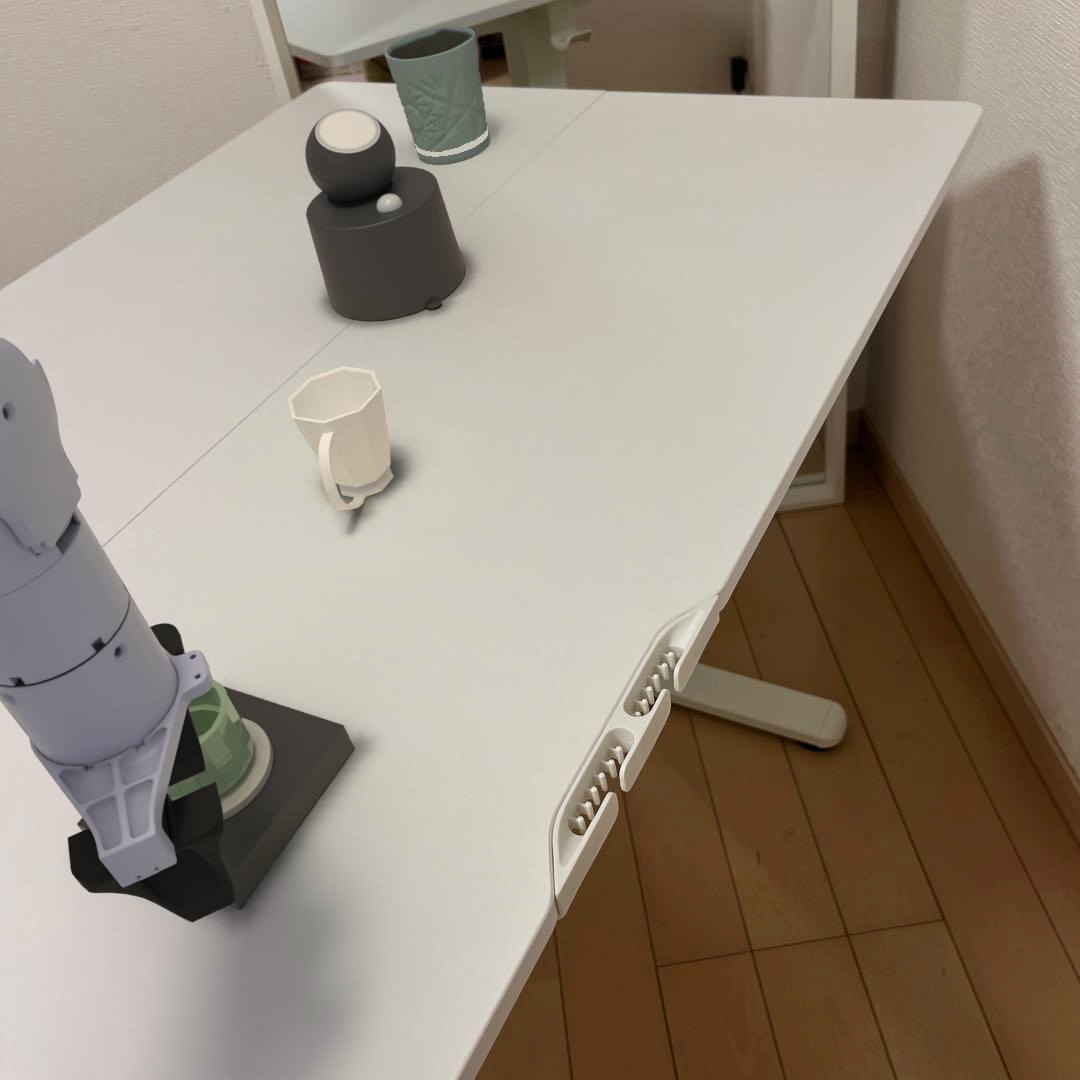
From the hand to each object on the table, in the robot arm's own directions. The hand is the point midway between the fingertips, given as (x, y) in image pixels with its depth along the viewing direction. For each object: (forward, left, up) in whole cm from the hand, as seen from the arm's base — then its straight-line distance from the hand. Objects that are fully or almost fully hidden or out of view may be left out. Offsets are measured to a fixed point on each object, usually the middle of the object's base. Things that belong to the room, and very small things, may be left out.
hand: (197, 836), depth 49 cm
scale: (+5, +10, -10) cm, 15 cm away
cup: (+29, +22, -11) cm, 38 cm away
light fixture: (+54, +41, -11) cm, 68 cm away
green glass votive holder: (+5, +10, -8) cm, 13 cm away
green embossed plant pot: (+81, +57, -11) cm, 99 cm away
